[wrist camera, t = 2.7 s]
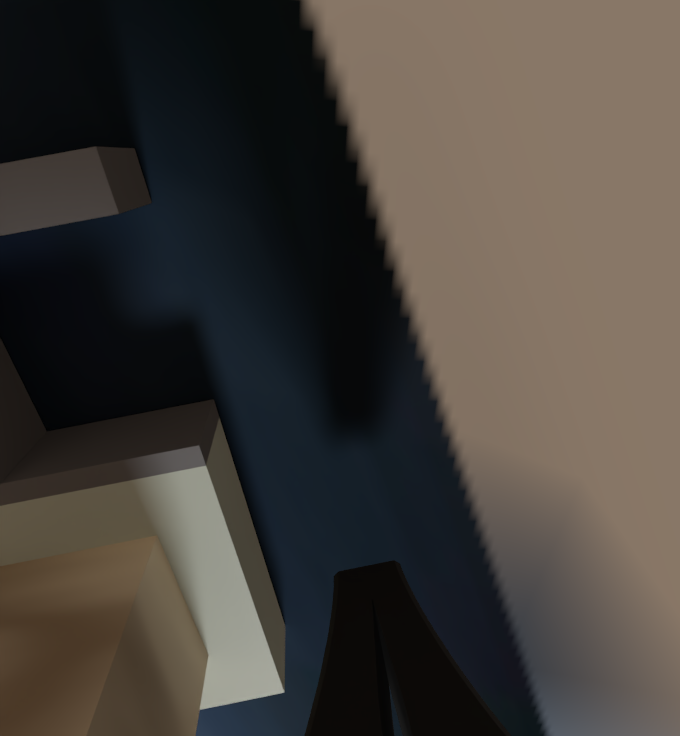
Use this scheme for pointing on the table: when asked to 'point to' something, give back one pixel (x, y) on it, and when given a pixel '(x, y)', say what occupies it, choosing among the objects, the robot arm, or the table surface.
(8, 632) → the birch block
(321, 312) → the table surface
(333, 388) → the table surface
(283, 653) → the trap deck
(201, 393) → the table surface
